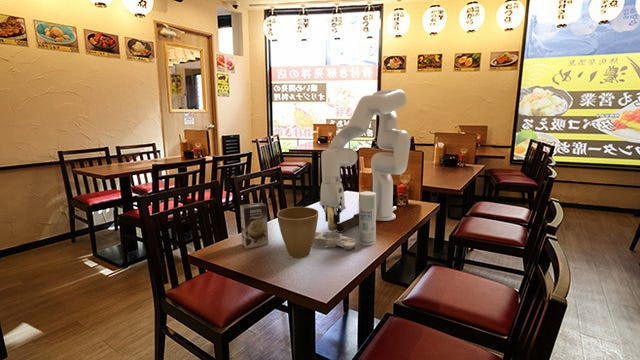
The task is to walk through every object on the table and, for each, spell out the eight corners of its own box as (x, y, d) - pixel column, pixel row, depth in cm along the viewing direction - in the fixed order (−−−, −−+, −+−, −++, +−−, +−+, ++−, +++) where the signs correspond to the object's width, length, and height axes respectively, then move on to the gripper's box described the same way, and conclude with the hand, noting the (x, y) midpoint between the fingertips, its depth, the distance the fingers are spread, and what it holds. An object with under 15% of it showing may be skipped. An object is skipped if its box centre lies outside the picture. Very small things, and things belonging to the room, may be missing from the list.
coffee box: (246, 249, 135) (243, 208, 132) (241, 243, 141) (239, 204, 138) (269, 244, 140) (267, 205, 137) (263, 239, 145) (261, 201, 142)
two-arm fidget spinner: (316, 233, 151) (315, 226, 151) (361, 246, 135) (361, 239, 134) (300, 239, 145) (300, 232, 144) (346, 253, 128) (346, 246, 128)
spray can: (377, 240, 141) (377, 191, 137) (374, 246, 135) (374, 195, 131) (361, 238, 143) (361, 190, 140) (357, 244, 137) (357, 194, 134)
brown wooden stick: (342, 233, 150) (343, 222, 149) (335, 231, 152) (335, 220, 151) (366, 223, 164) (367, 213, 163) (359, 221, 167) (360, 211, 166)
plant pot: (275, 249, 134) (273, 209, 131) (313, 244, 138) (312, 205, 135) (282, 265, 120) (280, 220, 117) (324, 259, 124) (323, 215, 121)
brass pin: (332, 226, 154) (331, 204, 152) (339, 228, 151) (338, 206, 149) (325, 229, 151) (325, 206, 149) (333, 231, 148) (332, 208, 146)
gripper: (352, 180, 144) (353, 223, 147) (322, 176, 155) (324, 216, 159) (340, 183, 138) (342, 228, 142) (310, 179, 150) (312, 220, 153)
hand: (332, 221), depth 150 cm, fingers closed on brass pin, 4 cm apart
